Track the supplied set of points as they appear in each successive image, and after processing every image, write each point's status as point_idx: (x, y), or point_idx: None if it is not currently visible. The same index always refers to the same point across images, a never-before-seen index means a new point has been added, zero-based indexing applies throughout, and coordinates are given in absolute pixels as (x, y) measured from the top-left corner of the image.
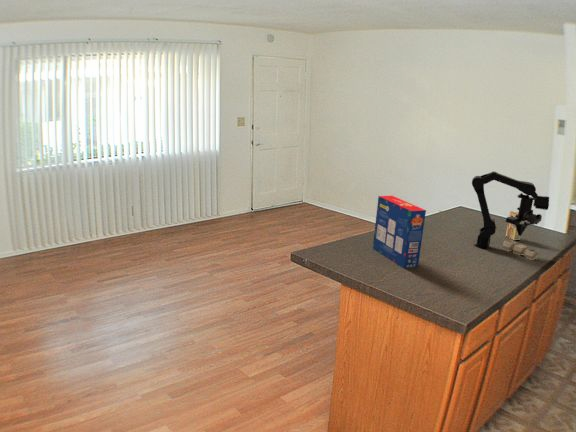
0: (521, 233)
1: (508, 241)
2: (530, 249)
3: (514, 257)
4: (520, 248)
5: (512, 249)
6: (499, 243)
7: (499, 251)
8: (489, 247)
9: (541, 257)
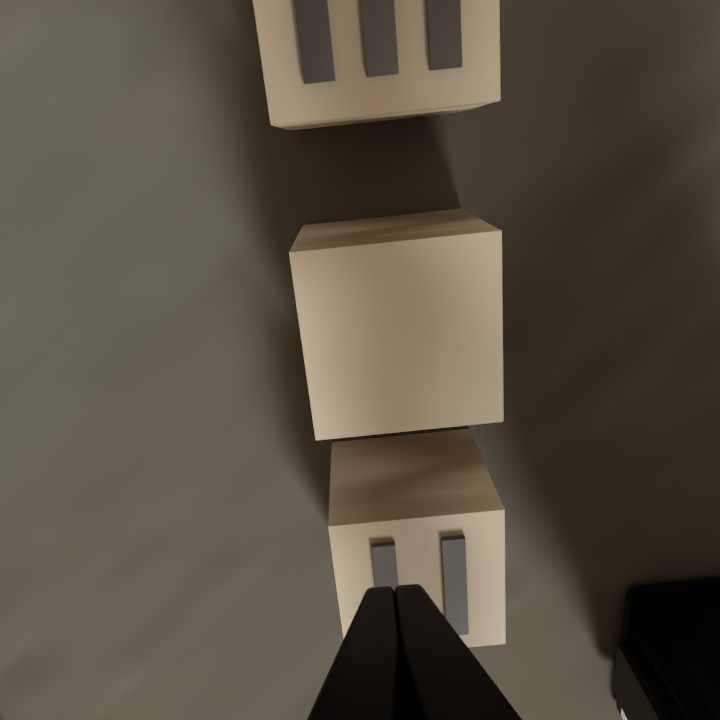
0: (396, 637)
1: None
2: (370, 56)
3: (639, 160)
4: (497, 251)
5: (399, 449)
6: None
7: (628, 456)
8: (675, 589)
9: (60, 34)
